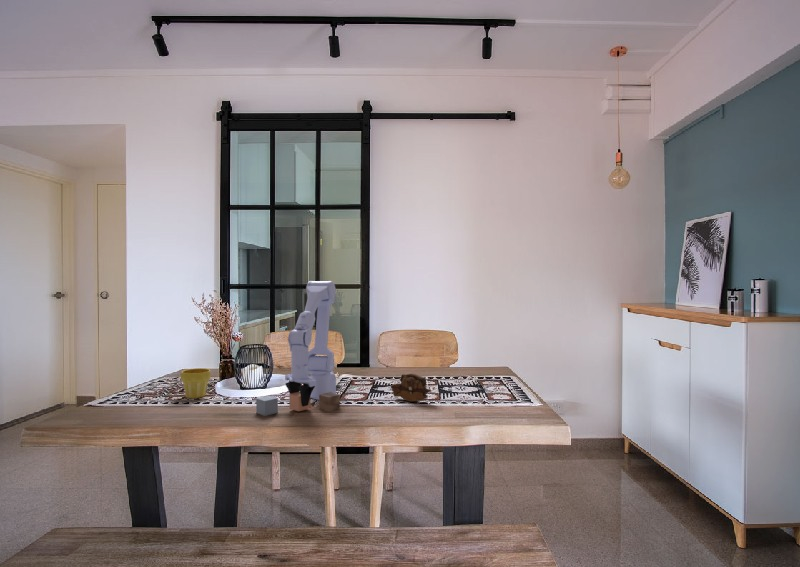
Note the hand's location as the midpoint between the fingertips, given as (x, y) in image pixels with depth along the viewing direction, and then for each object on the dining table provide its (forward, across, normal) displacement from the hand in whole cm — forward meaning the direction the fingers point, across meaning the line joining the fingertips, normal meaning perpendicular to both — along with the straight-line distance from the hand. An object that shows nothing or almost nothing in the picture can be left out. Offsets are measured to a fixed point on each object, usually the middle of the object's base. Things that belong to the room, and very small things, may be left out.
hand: (300, 404), depth 156 cm
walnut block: (+2, +6, +8) cm, 10 cm away
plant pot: (+2, -45, -15) cm, 47 cm away
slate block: (+2, -6, -9) cm, 11 cm away
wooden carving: (+2, +21, +34) cm, 40 cm away
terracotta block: (+1, 0, 0) cm, 1 cm away
